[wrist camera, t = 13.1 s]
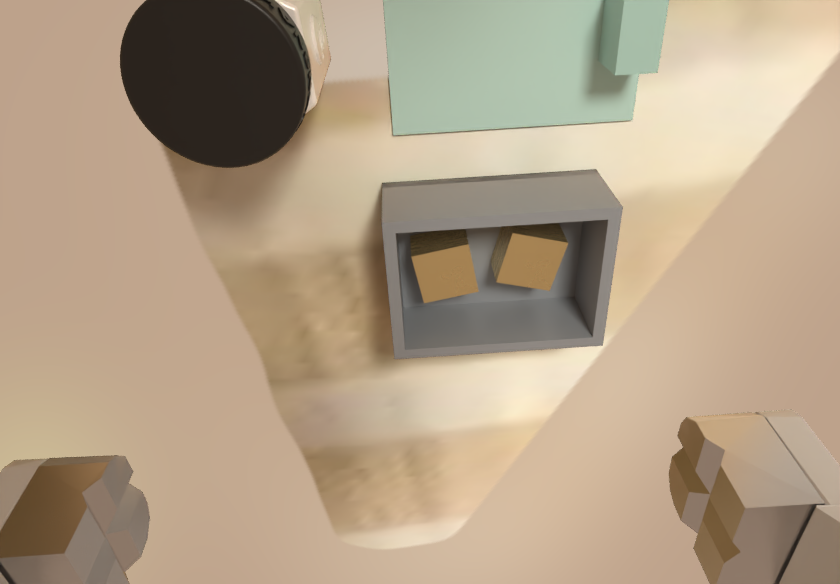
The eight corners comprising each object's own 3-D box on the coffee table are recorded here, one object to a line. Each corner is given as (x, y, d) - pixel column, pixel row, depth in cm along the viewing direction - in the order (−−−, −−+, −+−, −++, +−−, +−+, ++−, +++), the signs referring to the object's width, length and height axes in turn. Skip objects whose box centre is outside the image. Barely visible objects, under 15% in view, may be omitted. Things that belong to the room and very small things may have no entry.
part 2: (505, 212, 44) (512, 233, 42) (558, 222, 45) (568, 242, 42) (490, 260, 46) (496, 282, 44) (541, 268, 47) (549, 290, 44)
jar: (341, 94, 40) (325, 166, 30) (216, 110, 40) (159, 187, 30) (312, -65, 35) (282, -42, 25) (170, -47, 35) (83, -16, 25)
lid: (377, -75, 35) (376, -69, 32) (657, -92, 35) (688, -88, 32) (393, 131, 42) (393, 155, 38) (628, 116, 42) (650, 138, 39)
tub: (382, 183, 43) (381, 222, 38) (595, 169, 43) (622, 207, 38) (394, 310, 50) (394, 359, 45) (581, 298, 50) (602, 345, 45)
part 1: (410, 235, 45) (411, 256, 42) (464, 223, 45) (468, 244, 42) (422, 280, 47) (424, 303, 45) (473, 269, 47) (478, 291, 44)
